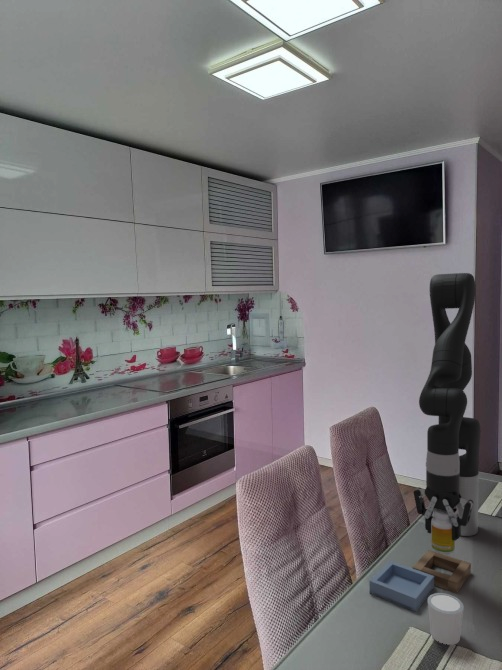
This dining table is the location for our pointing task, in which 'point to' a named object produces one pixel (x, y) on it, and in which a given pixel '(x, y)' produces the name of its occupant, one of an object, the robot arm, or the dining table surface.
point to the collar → (440, 579)
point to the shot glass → (445, 618)
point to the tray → (402, 585)
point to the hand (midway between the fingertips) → (442, 535)
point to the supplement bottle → (442, 533)
